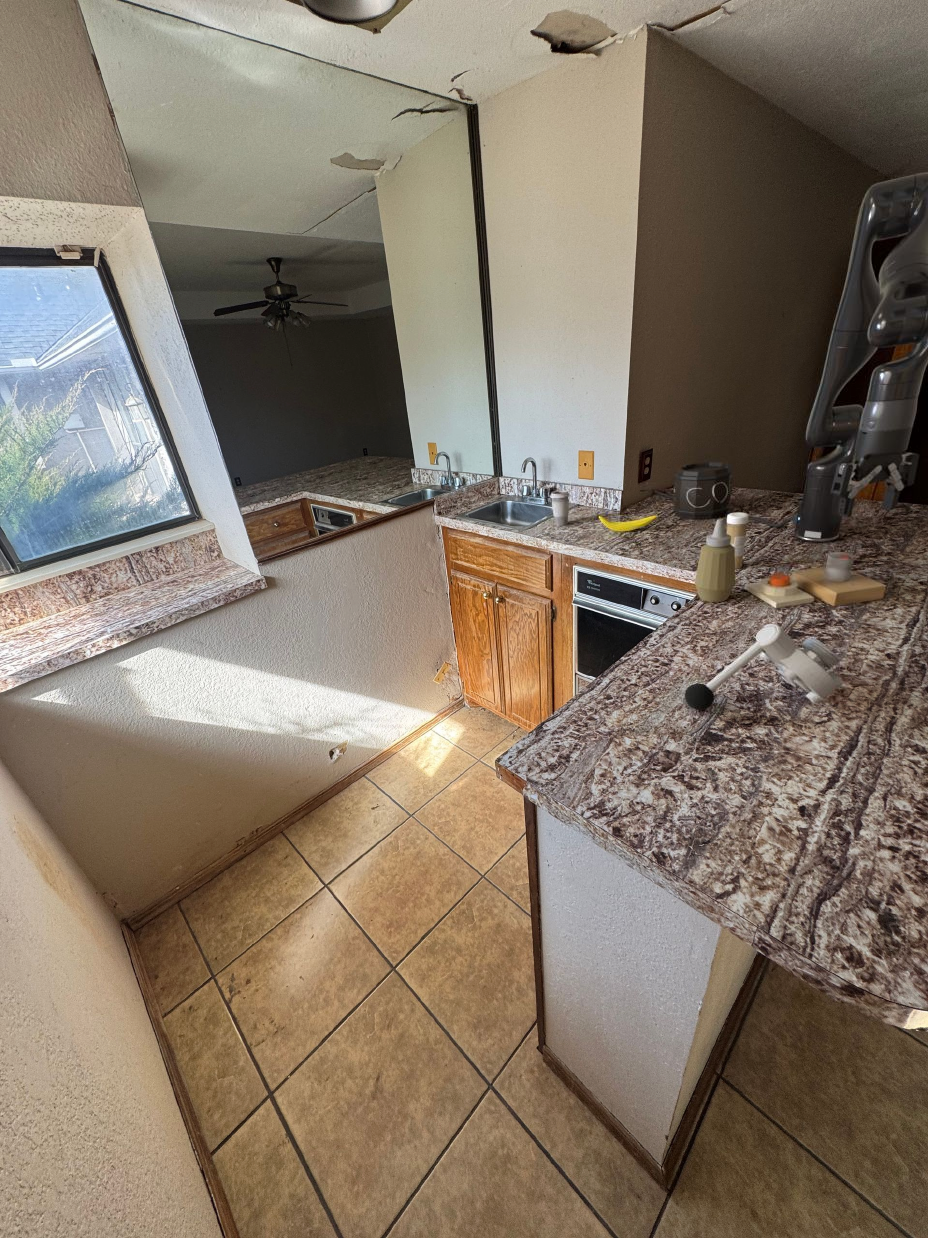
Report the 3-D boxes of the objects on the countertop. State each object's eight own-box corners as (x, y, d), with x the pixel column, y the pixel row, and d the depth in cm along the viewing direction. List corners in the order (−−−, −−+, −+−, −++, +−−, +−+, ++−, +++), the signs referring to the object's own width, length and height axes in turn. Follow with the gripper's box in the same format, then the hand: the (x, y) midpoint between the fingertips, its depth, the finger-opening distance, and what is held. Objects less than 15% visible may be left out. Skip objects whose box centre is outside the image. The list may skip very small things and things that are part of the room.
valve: (722, 731, 83) (667, 681, 80) (820, 653, 78) (765, 596, 74) (757, 770, 74) (695, 716, 70) (870, 684, 68) (810, 621, 65)
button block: (744, 588, 110) (745, 576, 108) (778, 583, 110) (780, 571, 108) (775, 608, 100) (777, 595, 98) (813, 602, 100) (815, 589, 98)
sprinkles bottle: (719, 564, 124) (723, 513, 118) (737, 562, 124) (742, 510, 118) (727, 570, 120) (733, 517, 114) (746, 568, 119) (752, 515, 114)
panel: (790, 583, 109) (792, 570, 107) (833, 576, 109) (836, 563, 107) (833, 606, 97) (836, 592, 96) (882, 599, 97) (886, 584, 95)
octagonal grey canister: (742, 515, 156) (747, 466, 149) (686, 523, 157) (688, 474, 151) (716, 503, 172) (720, 458, 165) (666, 510, 174) (667, 466, 167)
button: (765, 582, 105) (766, 575, 104) (781, 579, 105) (782, 572, 104) (776, 588, 102) (777, 581, 101) (792, 585, 102) (794, 578, 101)
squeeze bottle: (731, 590, 110) (739, 513, 102) (736, 605, 103) (745, 524, 95) (692, 590, 113) (697, 515, 105) (695, 605, 106) (700, 526, 98)
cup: (573, 522, 177) (572, 489, 172) (567, 527, 173) (565, 494, 167) (555, 521, 181) (554, 489, 176) (548, 526, 176) (546, 494, 171)
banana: (657, 531, 154) (658, 512, 151) (596, 534, 161) (596, 515, 158) (657, 528, 157) (657, 509, 154) (597, 531, 163) (597, 513, 160)
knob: (818, 575, 103) (823, 552, 101) (838, 572, 103) (843, 549, 101) (834, 583, 99) (839, 559, 97) (855, 579, 99) (860, 555, 97)
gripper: (905, 418, 90) (884, 503, 97) (831, 430, 90) (816, 514, 97) (943, 420, 84) (919, 511, 91) (864, 433, 84) (845, 523, 91)
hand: (865, 512), depth 94 cm, fingers open, 8 cm apart
